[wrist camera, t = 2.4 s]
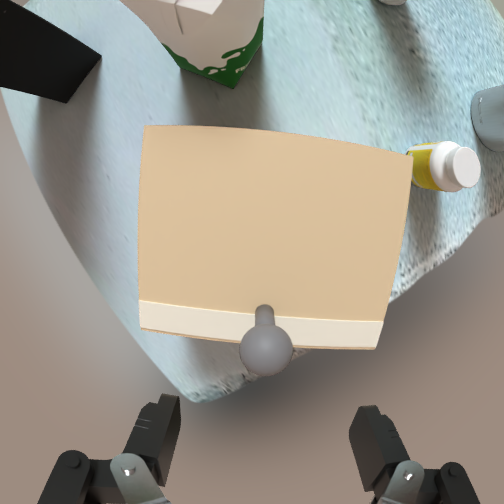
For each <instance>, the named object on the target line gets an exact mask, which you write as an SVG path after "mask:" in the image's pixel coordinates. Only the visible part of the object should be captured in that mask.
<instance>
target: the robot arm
mask: <svg viewBox="0 0 504 504" xmlns="http://www.w3.org/2000/svg"><path fill="white" fill-rule="evenodd" d="M471 115H472V121H473V125H474V128H475V131H476V133H477V135H478V137H479V138H480V140H481V141H482V143H483V144H484V145H485V146H486V147H487V148H489V149H490V150H493V151H502V152H504V85H500V86H496V87H492V88H489V89H485V90H481V91H479V92H477V93H476V94H475V95H474V97H473V100H472V104H471ZM180 425H181V414H180V400H179V396H174V395H168V394H162V395H161V397H160V399H159V402H158V404H156V403H151V402H149V403H148V404H147V405H146V406H144V407H143V408H142V409H141V412H140V414H139V416H138V419H137V421H136V423H135V426H134V427H133V430H132V432H131V434H130V437H129V439H128V441H127V444H126V446H125V449H124V451H123V453H121V454H120V455H117V456H116V457H114V458H113V459H111V460H93V459H92V460H91V459H88V457H87V456H86V455H85V454H84V453H82V452H80V451H76V450H69V451H66V452H64V453H62V454H61V455H60V456H59V458H58V460H57V462H56V464H55V466H54V468H53V470H52V472H51V474H50V477H49V479H48V481H47V483H46V485H45V488H44V490H43V492H42V494H41V496H40V499H39V501H38V503H37V504H106V503H111V504H171V503H170V501H168V500H167V499H166V498H165V496H164V495H163V493H162V491H161V490H160V488H159V486H163V487H165V484H166V481H167V477H168V473H169V469H170V465H171V461H172V458H173V454H174V450H175V446H176V442H177V439H178V435H179V431H180ZM349 440H350V443H351V447H352V450H353V453H354V456H355V459H356V463H357V466H358V470H359V473H360V477H361V480H362V484H363V487H364V491H365V492H368V491H374V494H375V495H374V496H373V498H372V500H371V502H370V503H369V504H480V502H479V500H478V498H477V495H476V493H475V491H474V488H473V486H472V484H471V482H470V480H469V478H468V476H467V474H466V471H465V469H464V468H463V467H462V466H461V465H460V464H458V463H456V462H449V463H446V464H444V465H443V466H442V468H441V469H423V467H422V466H421V465H420V464H419V463H417V462H415V461H411V460H410V458H409V456H408V454H407V451H406V449H405V447H404V445H403V443H402V440H401V438H400V437H399V434H398V432H397V431H396V428H395V426H394V423H393V422H392V421H391V420H390V419H389V418H388V417H387V416H386V415H381V414H380V411H379V409H378V407H377V406H376V405H371V406H361V407H359V408H358V411H357V413H356V415H355V417H354V420H353V422H352V424H351V426H350V429H349ZM158 485H159V486H158Z"/></svg>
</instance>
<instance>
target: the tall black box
mask: <svg viewBox="0 0 504 504" xmlns="http://www.w3.org/2000/svg"><path fill="white" fill-rule="evenodd" d="M100 58H101V55H100V54H99V53H97V52H96V51H94V50H93V49H91V48H90V47H88V46H86V45H85V44H83V43H82V42H80V41H79V40H77V39H76V38H74V37H73V36H71V35H69V34H68V33H66V32H65V31H63V30H61V29H60V28H58V27H56V26H55V25H53V24H51V23H50V22H48V21H46V20H45V19H43V18H41V17H39V16H38V15H36V14H34V13H32V12H31V11H29V10H27V9H25V8H24V7H22V6H20V5H18V4H16V3H14V2H12V1H11V0H0V87H4V88H8V89H12V90H17V91H21V92H25V93H29V94H33V95H37V96H41V97H44V98H48V99H52V100H55V101H59V102H62V103H67V102H68V101H69V99H70V98H71V96H72V95H73V94H74V92H75V91H76V89H77V88H78V86H79V85H80V84H81V82H82V81H83V80H84V78H85V77H86V75H87V74H88V73H89V72H90V70H91V69H92V68H93V66H94V65H95V64H96V63H97V61H98V60H99V59H100Z"/></svg>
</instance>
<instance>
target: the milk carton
mask: <svg viewBox="0 0 504 504" xmlns="http://www.w3.org/2000/svg"><path fill="white" fill-rule="evenodd" d="M120 1H121V2H122V3H123V4H124V5H126V6H127V7H128V8H129V9H130V10H131V11H132V12H133V13H135V14H136V15H137V16H138V17H139V18H140V19H141V20H142V21H143V22H144V23H145V24H146V25H147V26H148V27H149V28H150V30H151V31H152V32H153V33H154V35H155V36H156V37H157V38H158V40H159V41H160V42H161V43H162V45H163V46H164V47H165V49H166V50H167V51H168V52H169V54H170V55H171V56H172V58H173V59H174V60H175V62H176V63H177V65H178V66H179V67H180V68H183V69H185V70H188V71H191V72H193V73H196V74H199V75H201V76H204V77H206V78H209V79H211V80H214V81H216V82H218V83H221V84H223V85H225V86H228V87H230V88H232V89H234V87H235V85H236V84H237V82H238V80H239V79H240V77H241V75H242V74H243V72H244V70H245V69H246V67H247V66H248V64H249V62H250V61H251V59H252V58H253V56H254V54H255V53H256V51H257V50H258V48H259V47H260V45H261V44H262V40H263V20H264V0H120Z"/></svg>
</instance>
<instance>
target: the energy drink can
mask: <svg viewBox="0 0 504 504" xmlns="http://www.w3.org/2000/svg"><path fill="white" fill-rule="evenodd" d="M378 1H380V2H382V3H385V4H388V5H401V4H403V3H405V2H406V1H407V0H378Z"/></svg>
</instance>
